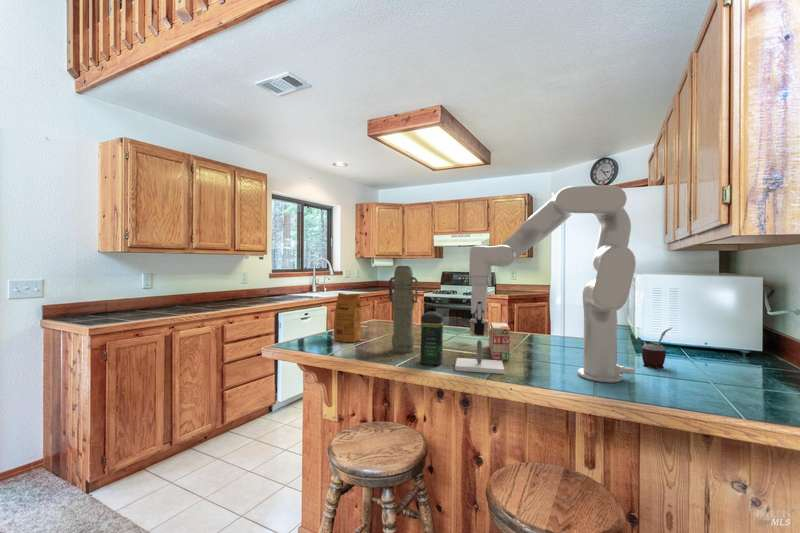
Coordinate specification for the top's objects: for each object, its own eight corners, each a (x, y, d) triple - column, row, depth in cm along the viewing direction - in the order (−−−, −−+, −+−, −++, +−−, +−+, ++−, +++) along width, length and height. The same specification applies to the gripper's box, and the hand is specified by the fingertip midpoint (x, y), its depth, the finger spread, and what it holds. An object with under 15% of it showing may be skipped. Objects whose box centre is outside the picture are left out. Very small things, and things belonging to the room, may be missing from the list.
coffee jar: (440, 366, 129) (441, 314, 129) (418, 365, 131) (419, 313, 131) (444, 359, 139) (444, 310, 138) (423, 358, 141) (423, 309, 140)
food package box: (488, 347, 161) (489, 318, 161) (503, 347, 160) (504, 319, 160) (492, 359, 140) (492, 327, 140) (509, 360, 139) (510, 328, 139)
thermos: (389, 347, 158) (390, 265, 157) (417, 348, 156) (418, 266, 156) (386, 352, 149) (387, 265, 148) (416, 353, 148) (417, 266, 147)
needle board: (502, 364, 133) (502, 338, 132) (504, 373, 122) (504, 345, 122) (457, 361, 136) (457, 336, 136) (455, 370, 125) (455, 342, 125)
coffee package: (340, 337, 178) (341, 291, 178) (364, 339, 174) (364, 292, 174) (329, 341, 169) (330, 293, 169) (354, 343, 164) (354, 294, 164)
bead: (487, 333, 131) (487, 319, 131) (487, 336, 125) (488, 322, 125) (470, 332, 132) (470, 318, 132) (469, 335, 126) (470, 321, 126)
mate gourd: (638, 363, 136) (639, 322, 136) (664, 365, 133) (664, 324, 133) (645, 369, 129) (646, 326, 129) (672, 371, 126) (672, 327, 126)
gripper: (469, 279, 138) (468, 328, 138) (468, 282, 121) (467, 337, 121) (490, 280, 136) (489, 329, 136) (491, 282, 119) (490, 338, 120)
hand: (478, 332), depth 129 cm, fingers closed on bead, 5 cm apart
